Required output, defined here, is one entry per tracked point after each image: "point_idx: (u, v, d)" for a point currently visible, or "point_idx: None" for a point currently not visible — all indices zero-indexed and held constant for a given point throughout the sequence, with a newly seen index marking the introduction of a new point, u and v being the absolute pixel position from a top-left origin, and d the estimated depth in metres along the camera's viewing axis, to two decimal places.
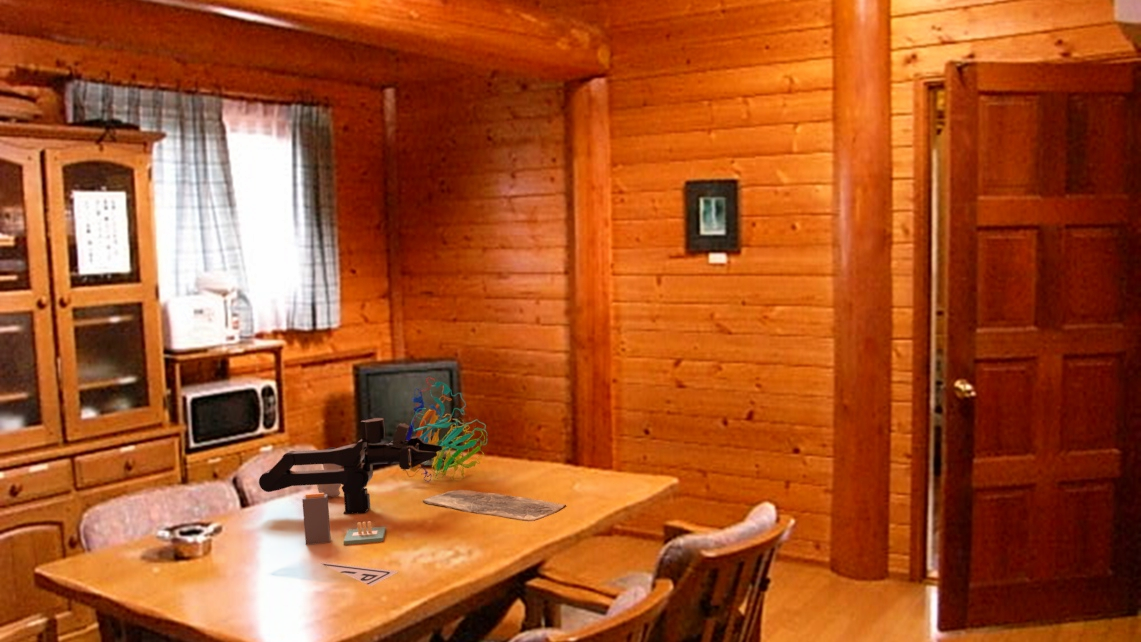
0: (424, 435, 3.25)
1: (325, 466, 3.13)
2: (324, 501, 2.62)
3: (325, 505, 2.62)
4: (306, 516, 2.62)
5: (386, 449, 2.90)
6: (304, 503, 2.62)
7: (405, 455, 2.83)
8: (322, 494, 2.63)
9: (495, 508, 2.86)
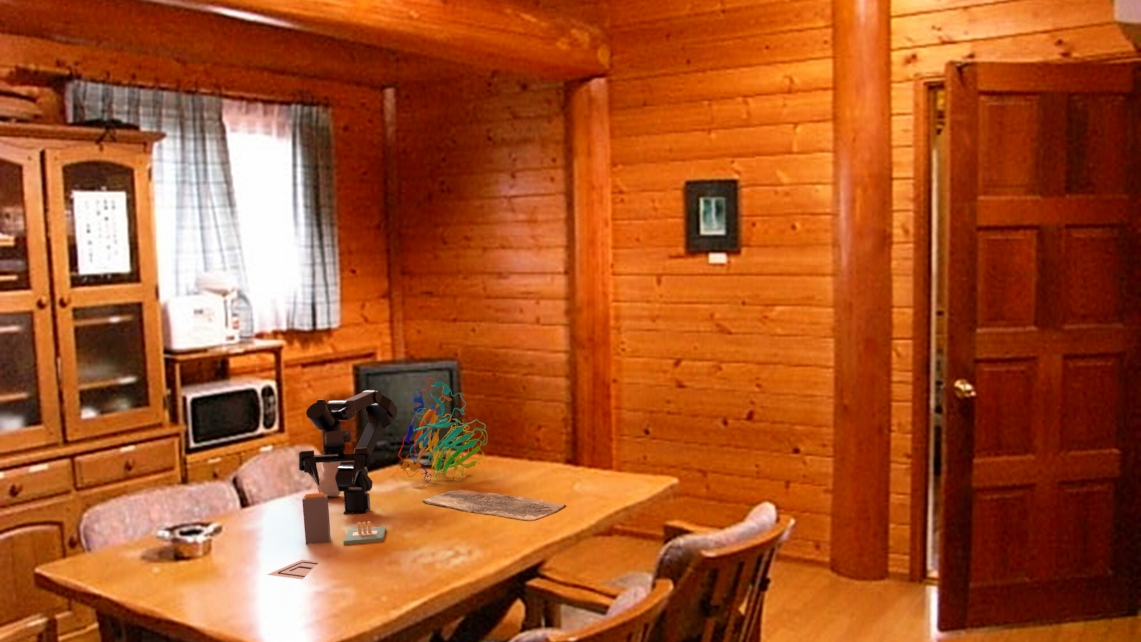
0: (424, 435, 3.25)
1: (325, 466, 3.13)
2: (324, 501, 2.62)
3: (325, 505, 2.62)
4: (306, 516, 2.62)
5: (324, 437, 2.78)
6: (304, 503, 2.62)
7: (299, 459, 2.72)
8: (322, 494, 2.63)
9: (495, 508, 2.86)
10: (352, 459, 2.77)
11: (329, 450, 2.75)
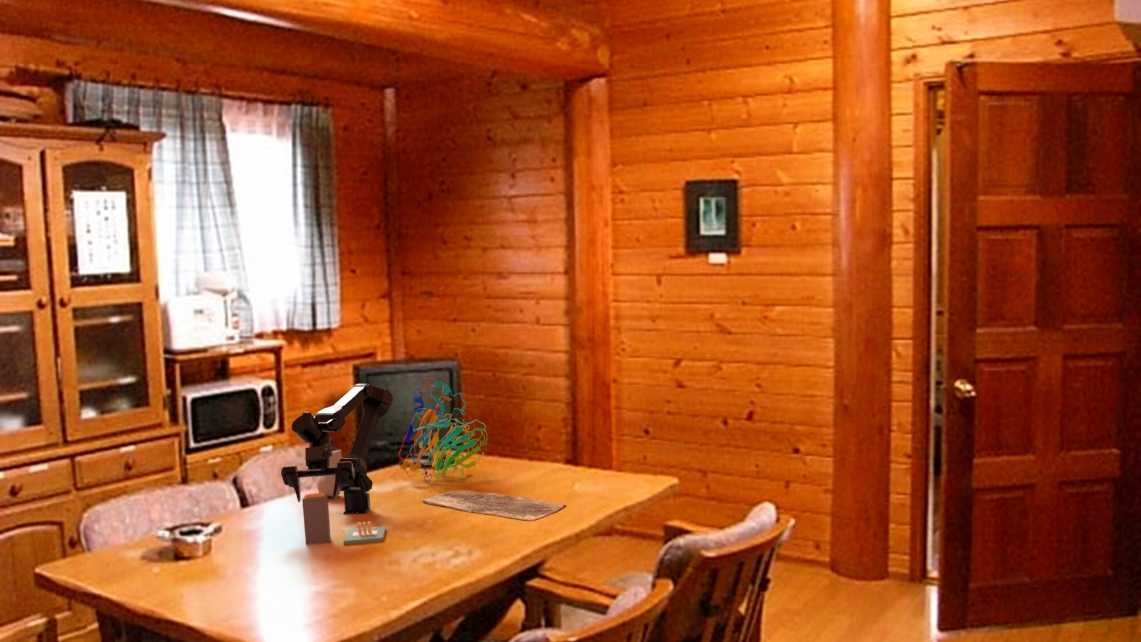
0: (424, 435, 3.25)
1: None
2: (324, 501, 2.62)
3: (325, 505, 2.62)
4: (306, 516, 2.62)
5: None
6: (304, 503, 2.62)
7: None
8: (322, 494, 2.63)
9: (495, 508, 2.86)
10: (336, 473, 2.73)
11: (312, 465, 2.71)
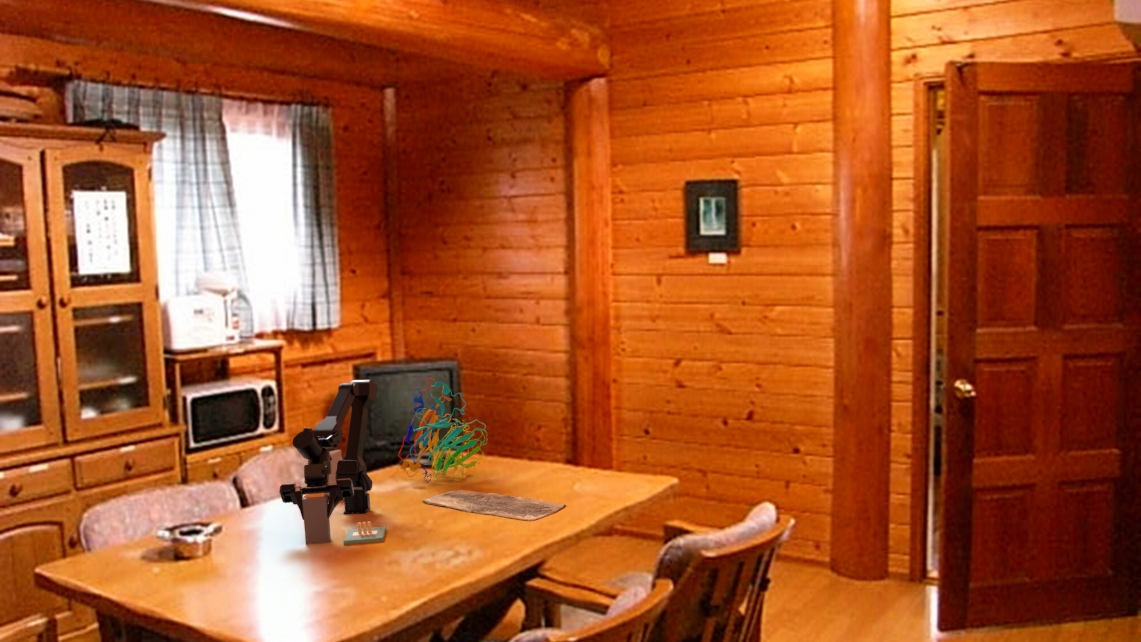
0: (424, 435, 3.25)
1: None
2: (324, 501, 2.62)
3: (325, 505, 2.62)
4: (306, 516, 2.62)
5: None
6: (304, 503, 2.62)
7: None
8: (322, 494, 2.63)
9: (495, 508, 2.86)
10: (330, 491, 2.68)
11: (311, 482, 2.67)
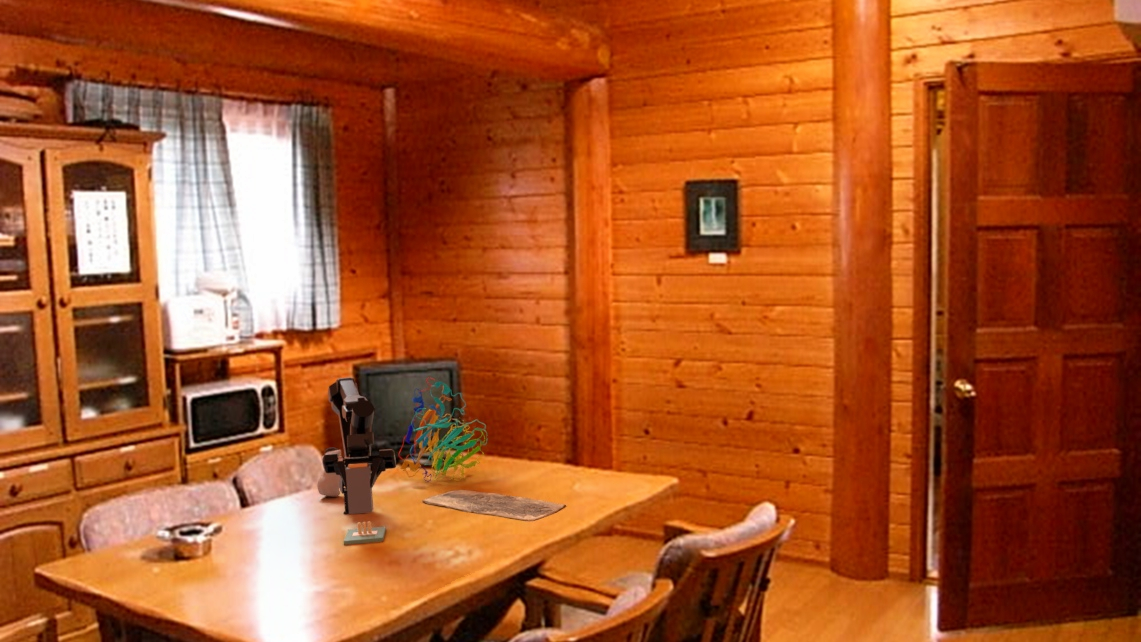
0: (424, 435, 3.25)
1: None
2: (367, 471, 2.63)
3: (368, 475, 2.63)
4: (349, 486, 2.63)
5: None
6: (347, 473, 2.63)
7: None
8: (365, 464, 2.64)
9: (495, 508, 2.86)
10: None
11: (353, 453, 2.68)
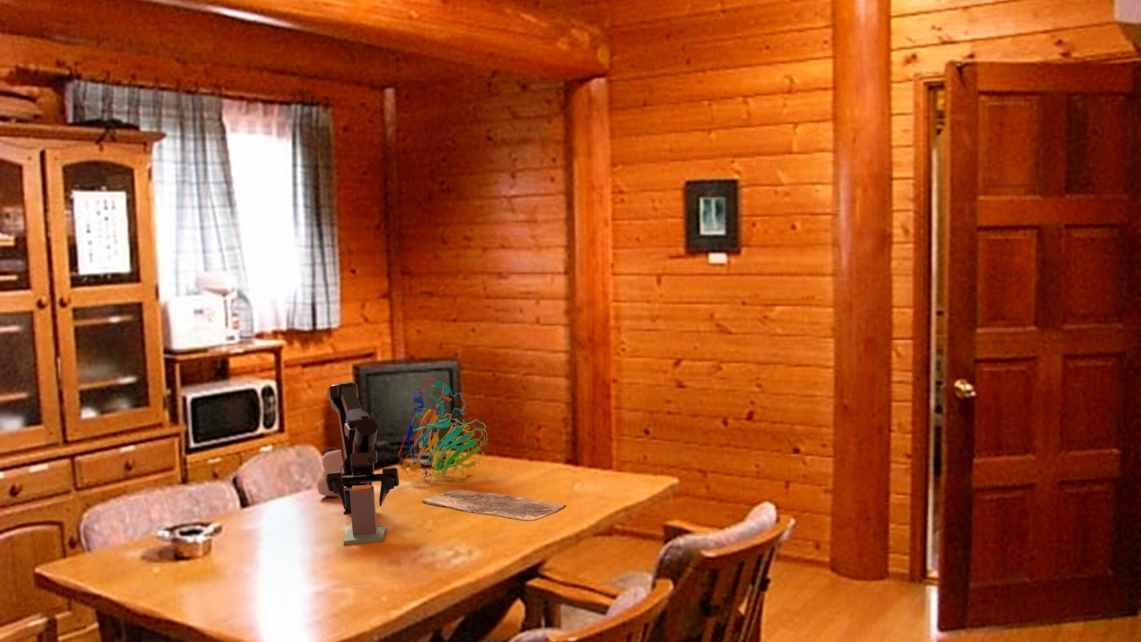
0: (424, 435, 3.25)
1: (325, 466, 3.13)
2: (371, 493, 2.64)
3: (372, 497, 2.64)
4: (353, 508, 2.64)
5: None
6: (351, 495, 2.63)
7: (327, 481, 2.68)
8: (369, 486, 2.65)
9: (495, 508, 2.86)
10: (381, 479, 2.70)
11: (357, 471, 2.68)
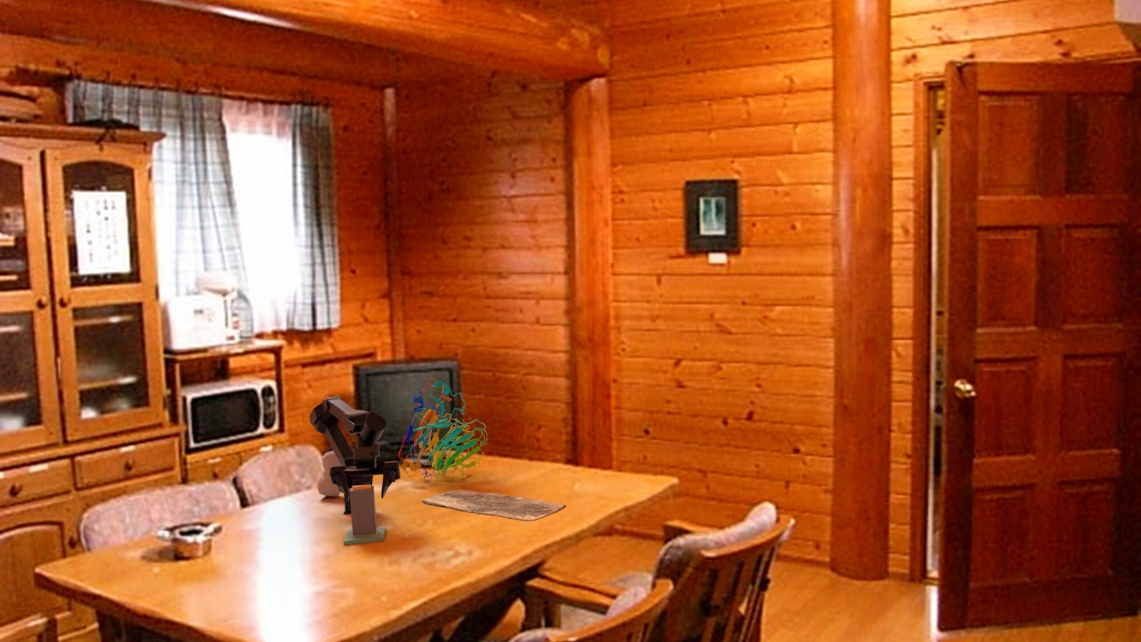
0: (424, 435, 3.25)
1: (325, 466, 3.13)
2: (371, 493, 2.64)
3: (372, 497, 2.64)
4: (353, 508, 2.64)
5: None
6: (351, 495, 2.63)
7: None
8: (369, 486, 2.65)
9: (495, 508, 2.86)
10: (383, 473, 2.78)
11: (359, 465, 2.77)
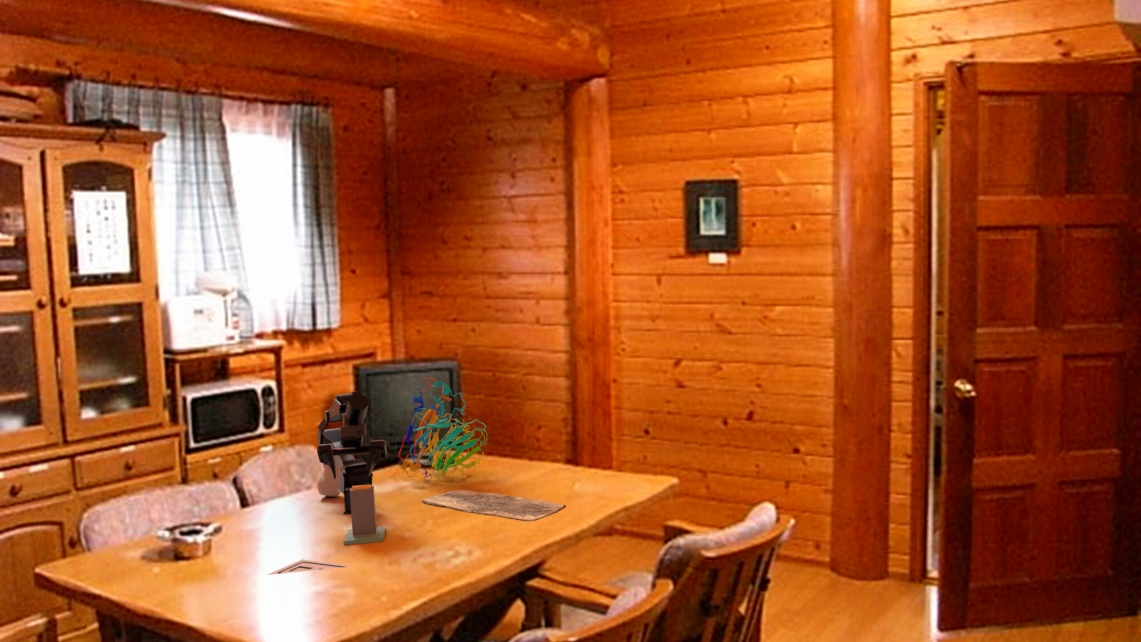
0: (424, 435, 3.25)
1: (325, 466, 3.13)
2: (371, 493, 2.64)
3: (372, 497, 2.64)
4: (353, 508, 2.64)
5: None
6: (351, 495, 2.63)
7: None
8: (369, 486, 2.65)
9: (495, 508, 2.86)
10: None
11: (346, 443, 2.82)
